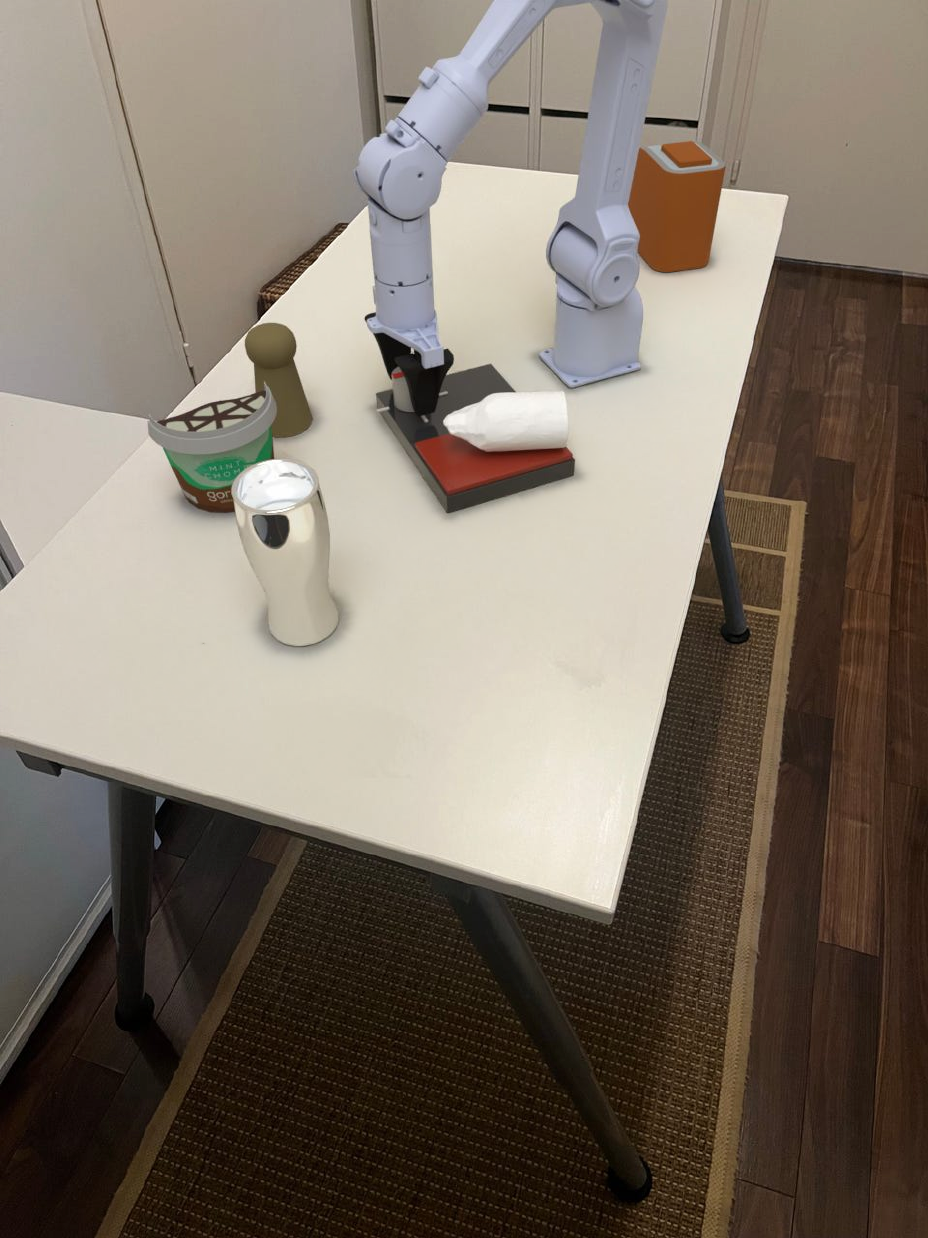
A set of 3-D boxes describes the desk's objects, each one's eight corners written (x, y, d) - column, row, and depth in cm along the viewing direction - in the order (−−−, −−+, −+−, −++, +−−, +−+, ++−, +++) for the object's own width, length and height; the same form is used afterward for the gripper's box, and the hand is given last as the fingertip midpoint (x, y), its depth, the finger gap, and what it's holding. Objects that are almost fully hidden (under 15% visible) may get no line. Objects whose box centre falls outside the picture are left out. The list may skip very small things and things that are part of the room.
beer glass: (310, 662, 77) (280, 525, 66) (247, 631, 80) (208, 494, 69) (360, 610, 81) (339, 474, 70) (298, 582, 84) (269, 446, 73)
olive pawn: (302, 440, 99) (286, 347, 91) (249, 434, 100) (228, 342, 92) (319, 408, 103) (305, 317, 95) (268, 403, 104) (250, 312, 96)
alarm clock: (715, 266, 124) (734, 161, 115) (655, 274, 123) (670, 168, 113) (673, 221, 134) (687, 120, 125) (617, 227, 133) (627, 126, 123)
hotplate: (534, 414, 98) (534, 409, 98) (572, 459, 92) (573, 454, 92) (414, 447, 94) (414, 442, 94) (447, 495, 89) (447, 490, 88)
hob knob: (422, 388, 102) (420, 357, 99) (436, 406, 99) (435, 375, 96) (388, 397, 101) (385, 366, 98) (401, 416, 98) (399, 384, 95)
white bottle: (442, 431, 95) (440, 383, 91) (558, 424, 96) (561, 376, 91) (445, 467, 91) (443, 418, 87) (566, 459, 91) (570, 411, 87)
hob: (488, 375, 107) (488, 359, 105) (574, 475, 94) (575, 458, 92) (365, 407, 103) (363, 391, 101) (437, 516, 90) (436, 499, 88)
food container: (186, 536, 89) (159, 450, 81) (169, 500, 92) (142, 415, 85) (307, 496, 92) (291, 411, 85) (286, 463, 96) (269, 379, 89)
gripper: (340, 250, 93) (354, 369, 103) (391, 315, 84) (401, 439, 94) (405, 236, 95) (413, 355, 105) (462, 298, 86) (465, 422, 95)
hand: (411, 394), depth 99 cm, fingers open, 7 cm apart
